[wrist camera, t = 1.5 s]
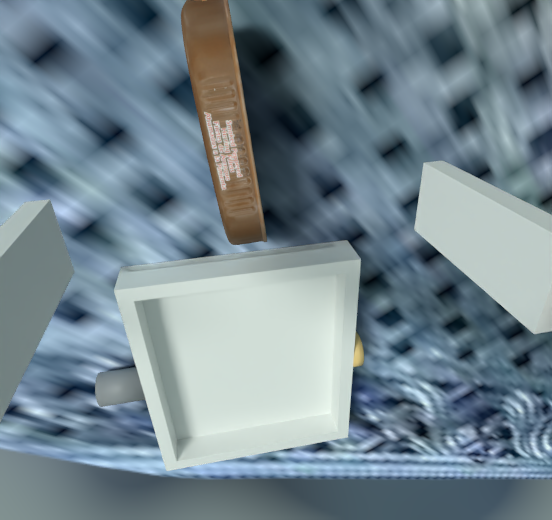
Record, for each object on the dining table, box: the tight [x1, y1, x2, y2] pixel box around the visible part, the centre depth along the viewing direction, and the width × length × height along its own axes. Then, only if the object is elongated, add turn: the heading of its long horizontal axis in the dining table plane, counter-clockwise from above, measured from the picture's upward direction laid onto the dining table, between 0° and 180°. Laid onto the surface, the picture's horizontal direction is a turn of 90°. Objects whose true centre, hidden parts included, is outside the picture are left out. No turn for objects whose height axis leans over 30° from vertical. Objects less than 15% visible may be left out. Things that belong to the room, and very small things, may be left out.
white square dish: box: [95, 240, 364, 471], centre depth 38 cm, size 24×22×4 cm
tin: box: [181, 0, 267, 245], centre depth 26 cm, size 15×3×8 cm, turn 7°
